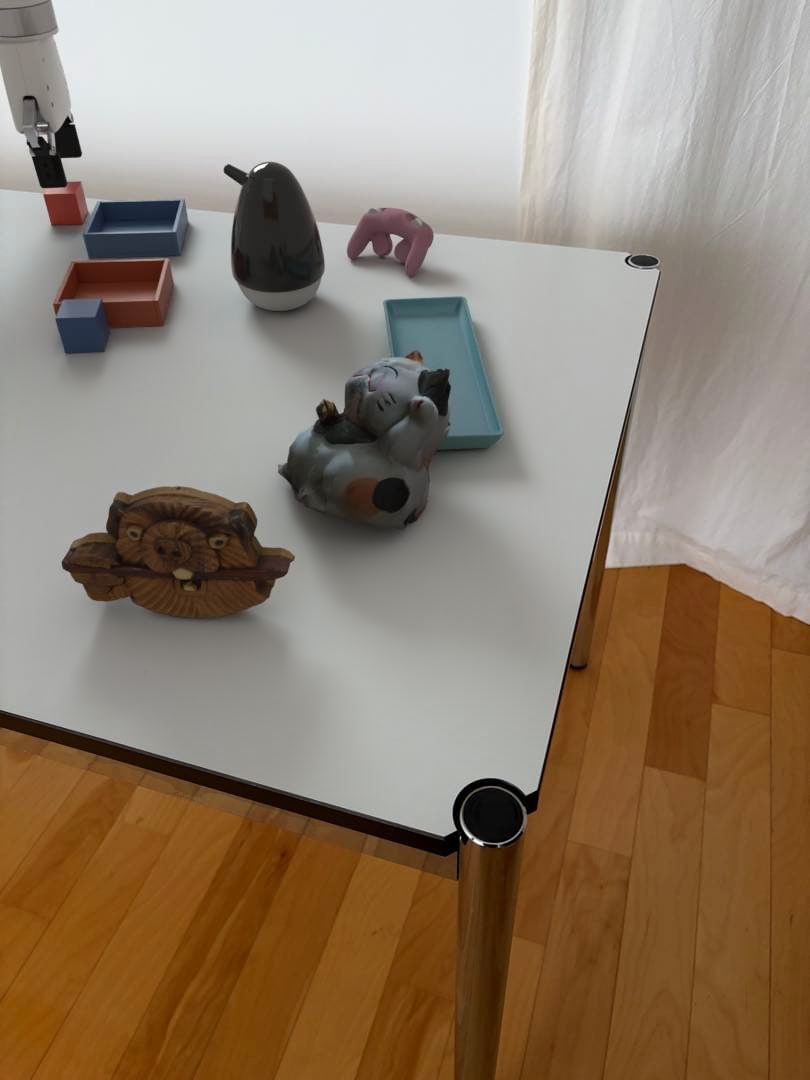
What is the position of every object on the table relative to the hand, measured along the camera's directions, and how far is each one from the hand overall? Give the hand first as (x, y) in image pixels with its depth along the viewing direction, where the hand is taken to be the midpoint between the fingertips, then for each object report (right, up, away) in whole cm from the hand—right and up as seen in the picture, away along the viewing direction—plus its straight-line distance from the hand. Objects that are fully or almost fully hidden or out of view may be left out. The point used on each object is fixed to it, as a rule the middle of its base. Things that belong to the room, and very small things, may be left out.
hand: (62, 171), depth 114 cm
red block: (-1, -4, +4) cm, 6 cm away
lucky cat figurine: (+40, -42, -36) cm, 68 cm away
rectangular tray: (+46, -31, -24) cm, 60 cm away
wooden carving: (+27, -52, -46) cm, 75 cm away
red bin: (+11, -20, -13) cm, 27 cm away
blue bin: (+10, -9, -1) cm, 13 cm away
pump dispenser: (+29, -20, -12) cm, 37 cm away
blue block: (+10, -26, -19) cm, 34 cm away
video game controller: (+41, -13, -4) cm, 44 cm away
